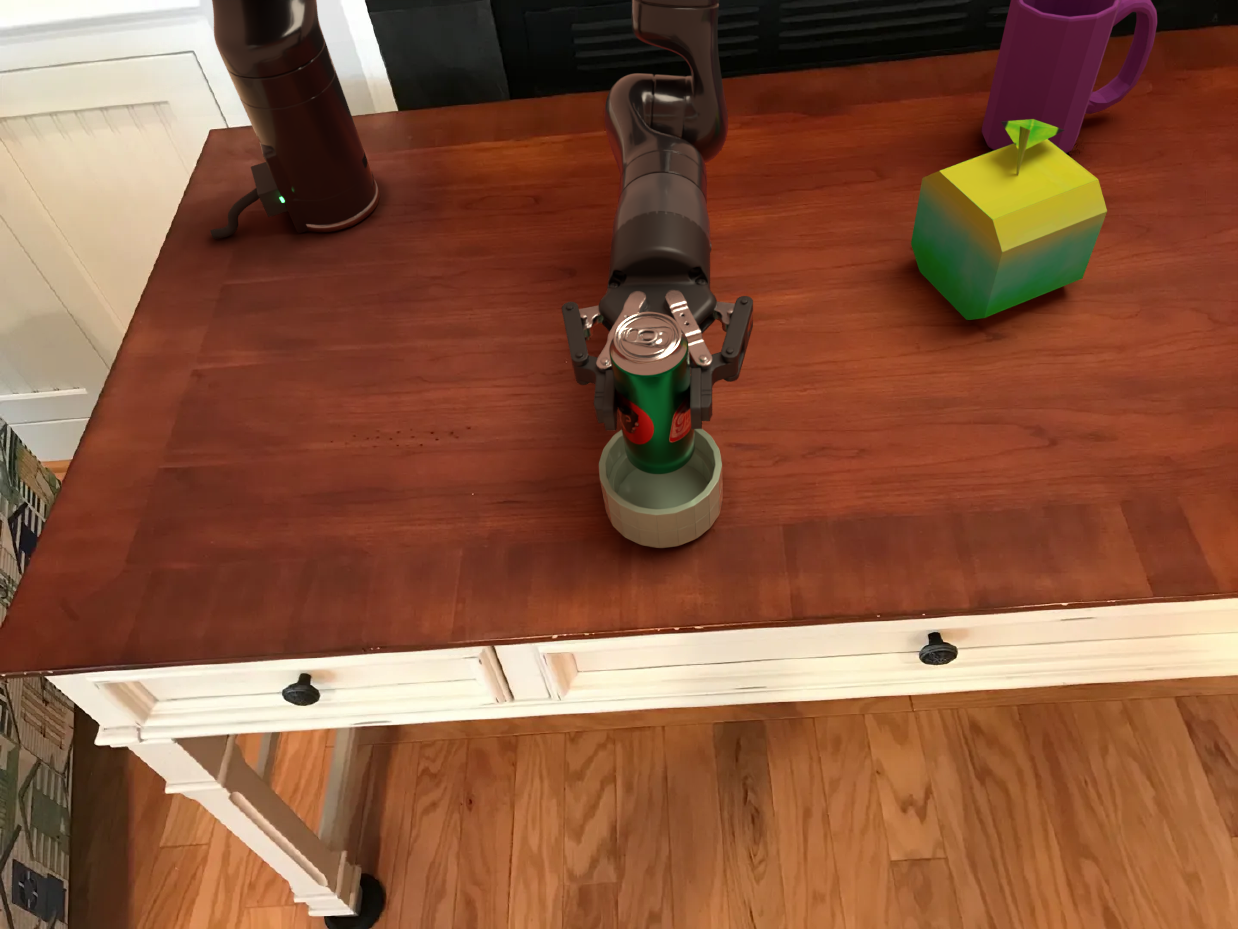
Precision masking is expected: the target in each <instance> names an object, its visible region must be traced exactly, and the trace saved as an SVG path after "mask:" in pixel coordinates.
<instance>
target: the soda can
mask: <svg viewBox="0 0 1238 929" xmlns="http://www.w3.org/2000/svg"><path fill="white" fill-rule="evenodd" d="M609 354H610V360H611V367H612V373H613V379H614V385H615V391H616V397H617V403H618V414H619V415H618V416H619V421H620V426H621V427H620V428H621V430H622V434H623V440H624V446H625V452H626V456H627V458H628V460H629V461H630V462H631V464H632V465H633V466H634V467H636V468H637V469H639V470H641V471H643V472H646V473H650V474H667V473H671V472H674V471H676V470H678V469H680V468H682V467H683V466H684V465H686V464H687V463H688V462H689V460H690V459H691V458H692V456H693V453H694V450H695V434H694V429H691V415H690V390H691V374H690V360H689V346H688V340H687V337H686V335H685V334H684V332H683V331H682V330H681V328H680V326H679V325H678V323H677V322H676V321H675V320H674V319H673V318H672V317H670V316H668V315H666V314H663V313H659V312H641V313H637V314H634V315H632V316H629V317H628V318H626V319H625V320H623V321H622V322H621V323H620V324H619V325H618V326H617V328H616V330H615V333H614V337H613V339H612V341H611V343H610V348H609Z"/></svg>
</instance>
